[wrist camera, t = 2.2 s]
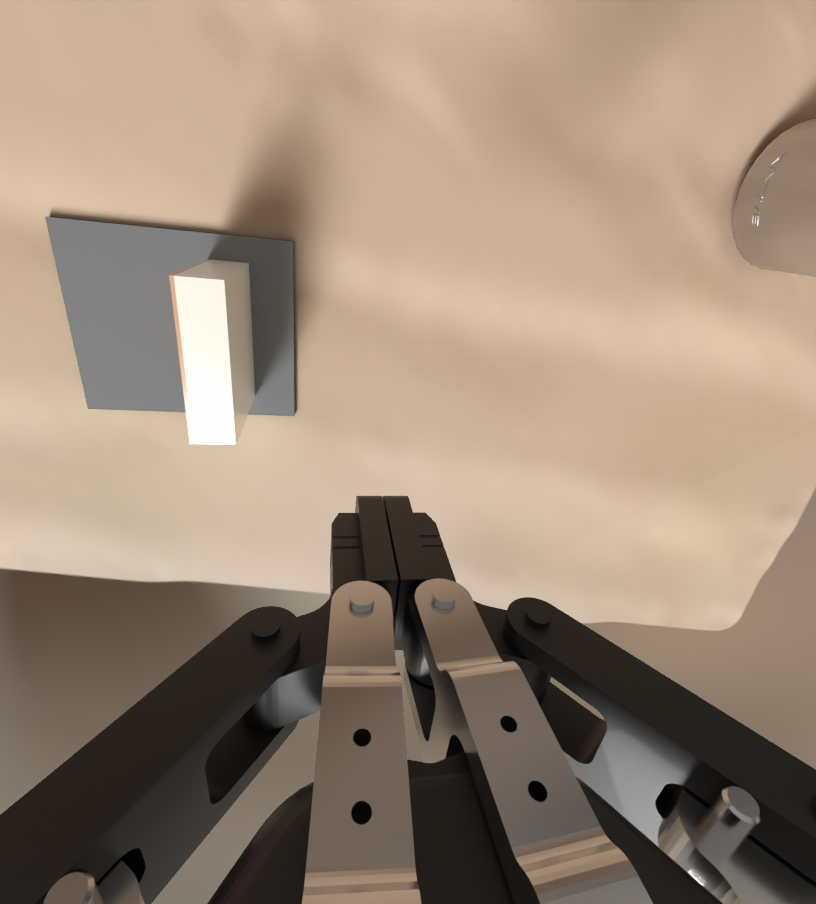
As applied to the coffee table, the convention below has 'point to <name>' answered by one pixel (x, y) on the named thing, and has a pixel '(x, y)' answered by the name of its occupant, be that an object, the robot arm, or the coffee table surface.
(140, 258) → the mat
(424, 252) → the coffee table surface
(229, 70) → the coffee table surface
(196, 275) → the tile
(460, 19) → the coffee table surface
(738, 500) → the coffee table surface
